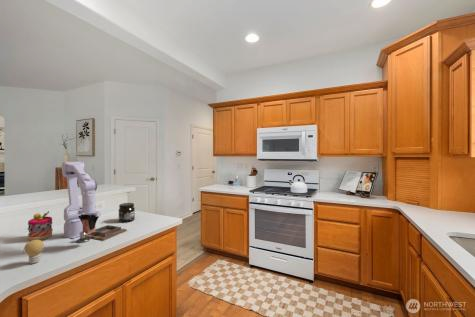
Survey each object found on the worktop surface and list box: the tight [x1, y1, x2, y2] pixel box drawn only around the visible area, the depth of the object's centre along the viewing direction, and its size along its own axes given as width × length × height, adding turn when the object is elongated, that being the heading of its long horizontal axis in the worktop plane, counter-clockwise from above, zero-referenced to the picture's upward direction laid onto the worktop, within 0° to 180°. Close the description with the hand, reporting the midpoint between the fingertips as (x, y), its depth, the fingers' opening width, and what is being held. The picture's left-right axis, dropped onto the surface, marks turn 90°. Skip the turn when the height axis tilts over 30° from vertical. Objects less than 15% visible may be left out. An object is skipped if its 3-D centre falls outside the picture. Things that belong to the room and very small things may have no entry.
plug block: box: [83, 219, 96, 235], centre depth 115 cm, size 4×4×7 cm
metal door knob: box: [76, 231, 91, 244], centre depth 120 cm, size 6×6×5 cm
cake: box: [27, 210, 53, 242], centre depth 124 cm, size 10×11×15 cm
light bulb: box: [23, 240, 45, 265], centre depth 96 cm, size 6×6×10 cm
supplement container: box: [118, 202, 136, 224], centre depth 156 cm, size 10×10×12 cm
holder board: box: [86, 224, 128, 241], centre depth 131 cm, size 15×16×3 cm
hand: (89, 228), depth 115 cm, fingers closed on plug block, 4 cm apart
